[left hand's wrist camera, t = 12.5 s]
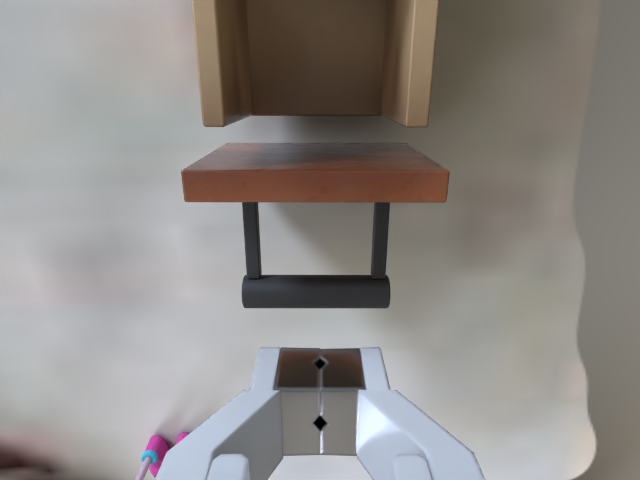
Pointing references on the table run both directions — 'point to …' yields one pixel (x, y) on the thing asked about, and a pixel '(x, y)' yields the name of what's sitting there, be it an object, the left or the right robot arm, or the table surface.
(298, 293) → the drawer
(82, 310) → the table surface
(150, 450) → the toy
